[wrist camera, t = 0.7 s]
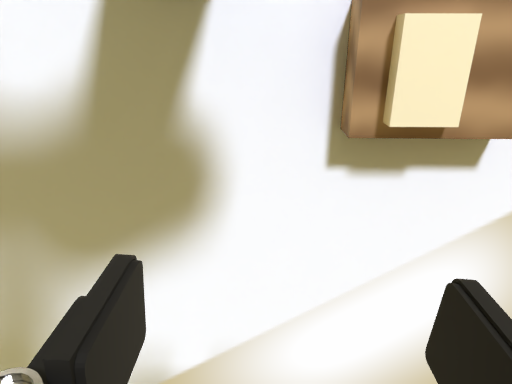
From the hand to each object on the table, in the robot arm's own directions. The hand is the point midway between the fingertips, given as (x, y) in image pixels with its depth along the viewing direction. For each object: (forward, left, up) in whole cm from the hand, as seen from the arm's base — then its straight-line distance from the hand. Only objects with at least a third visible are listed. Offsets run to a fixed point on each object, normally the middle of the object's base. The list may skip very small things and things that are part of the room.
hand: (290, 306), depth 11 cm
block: (-5, +13, -24) cm, 28 cm away
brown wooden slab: (-5, +15, -29) cm, 33 cm away
